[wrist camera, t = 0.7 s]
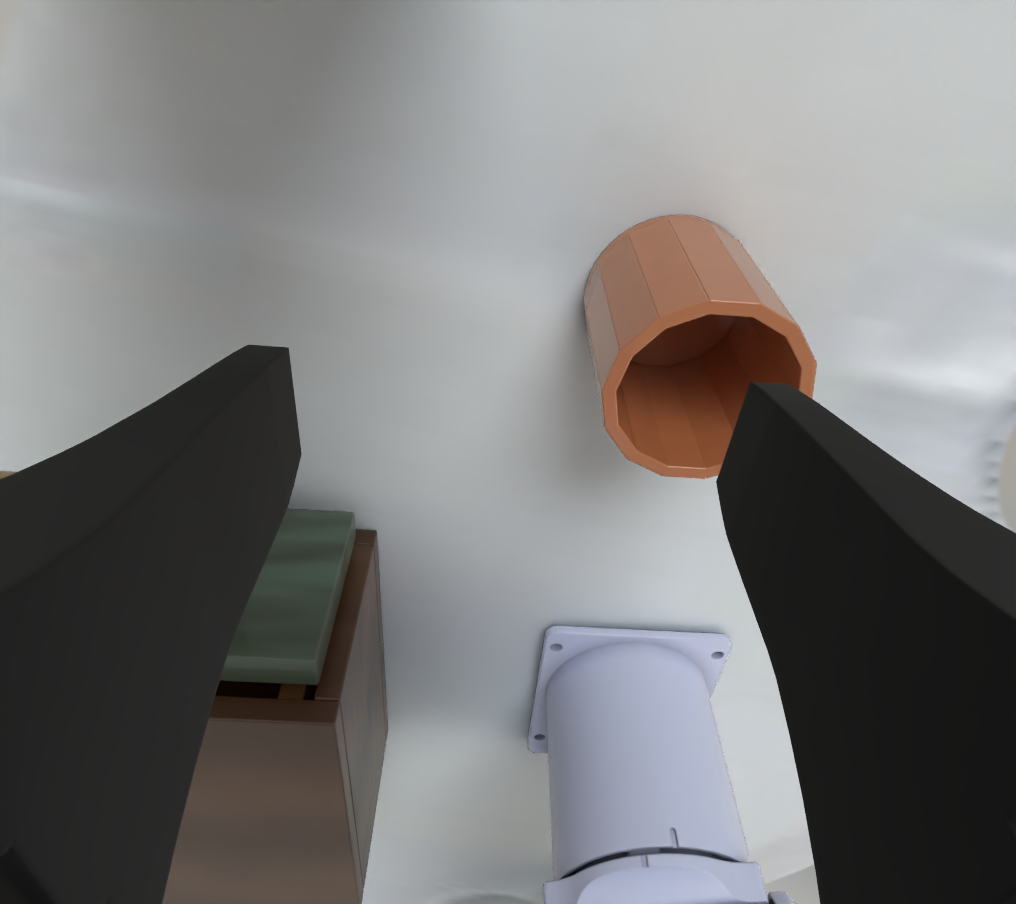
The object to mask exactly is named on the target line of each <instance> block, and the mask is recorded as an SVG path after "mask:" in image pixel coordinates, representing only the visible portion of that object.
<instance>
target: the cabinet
mask: <svg viewBox="0 0 1016 904" xmlns="http://www.w3.org/2000/svg"><path fill="white" fill-rule="evenodd" d="M355 530H356V538H355V542H354V546H353V550H352V554H351V558H350V562H349V566H348V570H347V574H346V578H345V582H344V586H343V590H342V594H341V598H340V602H339V606H338V610H337V614H336V618H335V622H334V626H333V630H332V634H331V638H330V642H329V646H328V650H327V654H326V658H325V662H324V666H323V670H322V674H321V678H320V682H319V684H318V685H317V688H316V692H315V696H314V700H298V699H276V698H253V697H231V696H215V698H214V701H213V705H212V708H211V712H210V715H209V719H208V723H207V726H206V730H205V733H204V737H203V741H202V744H201V748H200V752H199V755H198V759H197V762H196V766H195V770H194V774H193V778H192V781H191V785H190V789H189V793H188V797H187V801H186V805H185V809H184V813H183V817H182V821H181V825H180V829H179V833H178V837H177V841H176V845H175V849H174V854H173V858H172V863H171V867H170V871H169V876H168V880H167V885H166V889H165V893H164V898H163V902H162V904H362V898H363V888H364V885H365V878H366V871H367V865H368V858H369V852H370V845H371V838H372V832H373V825H374V819H375V812H376V805H377V799H378V792H379V786H380V779H381V772H382V766H383V759H384V752H385V746H386V739H387V733H388V720H387V702H386V684H385V666H384V648H383V630H382V613H381V595H380V577H379V559H378V541H377V532H376V531H375V530H357V529H355Z"/></svg>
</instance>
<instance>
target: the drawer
mask: <svg viewBox="0 0 1016 904" xmlns="http://www.w3.org/2000/svg"><path fill="white" fill-rule="evenodd" d="M14 473H17V472H11V471H0V479H2V478H4V477H7V476H9V475H12V474H14ZM355 538H356V530H355V518H354V513H353V512H339V511H321V510H303V509H287V510H286V512H285V515H284V517H283V520H282V522H281V525H280V527H279V530H278V532H277V534H276V537H275V539H274V541H273V544H272V546H271V549H270V551H269V553H268V556H267V558H266V560H265V563H264V565H263V567H262V570H261V572H260V574H259V577H258V579H257V581H256V584H255V586H254V588H253V591H252V593H251V595H250V598H249V600H248V603H247V605H246V607H245V610H244V612H243V614H242V617H241V619H240V621H239V624H238V627H237V629H236V632H235V635H234V637H233V640H232V643H231V645H230V648H229V651H228V654H227V658H226V661H225V665H224V668H223V671H222V675H221V678H220V681H219V685H218V688H217V691H216V695H215V696H231V697H253V698H276V699H298V700H314V696H315V692H316V688H317V685H318V684H319V682H320V678H321V674H322V670H323V666H324V662H325V658H326V654H327V650H328V646H329V642H330V638H331V634H332V630H333V626H334V622H335V618H336V614H337V610H338V606H339V602H340V598H341V594H342V590H343V586H344V582H345V578H346V574H347V570H348V566H349V562H350V558H351V554H352V550H353V546H354V542H355Z"/></svg>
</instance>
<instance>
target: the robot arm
mask: <svg viewBox="0 0 1016 904" xmlns="http://www.w3.org/2000/svg"><path fill="white" fill-rule="evenodd" d="M300 458H301V447H300V438H299V430H298V422H297V413H296V405H295V397H294V389H293V380H292V372H291V364H290V356H289V348H286V347H272V346H259V345H247V346H245V347H243V348H241V349H239V350H237V351H236V352H234V353H232V354H231V355H229V356H227V357H226V358H224V359H222V360H221V361H219V362H218V363H216V364H214V365H213V366H211V367H210V368H208V369H207V370H205V371H203V372H202V373H200V374H199V375H197V376H196V377H194V378H192V379H191V380H189V381H188V382H186V383H184V384H183V385H181V386H180V387H178V388H176V389H175V390H173V391H172V392H170V393H168V394H167V395H165V396H164V397H162V398H160V399H159V400H157V401H156V402H154V403H152V404H151V405H149V406H147V407H145V408H143V409H142V410H140V411H138V412H136V413H135V414H133V415H131V416H129V417H127V418H126V419H124V420H122V421H120V422H119V423H117V424H115V425H113V426H111V427H110V428H108V429H106V430H104V431H103V432H101V433H99V434H97V435H95V436H93V437H92V438H90V439H88V440H86V441H84V442H82V443H80V444H78V445H76V446H74V447H72V448H70V449H67V450H65V451H63V452H61V453H59V454H57V455H55V456H53V457H50V458H48V459H46V460H44V461H41V462H39V463H37V464H35V465H33V466H30V467H28V468H26V469H24V470H21V471H19V472H17V473H14V474H12V475H9V476H7V477H4V478H2V479H0V904H162V902H163V898H164V893H165V889H166V885H167V880H168V876H169V871H170V867H171V863H172V858H173V854H174V849H175V845H176V841H177V837H178V833H179V829H180V825H181V821H182V817H183V813H184V809H185V805H186V801H187V797H188V793H189V789H190V785H191V781H192V778H193V774H194V770H195V766H196V762H197V759H198V755H199V752H200V748H201V744H202V741H203V737H204V733H205V730H206V726H207V723H208V719H209V715H210V712H211V708H212V705H213V701H214V698H215V695H216V691H217V688H218V685H219V681H220V678H221V675H222V671H223V668H224V665H225V661H226V658H227V654H228V651H229V648H230V645H231V643H232V640H233V637H234V635H235V632H236V629H237V627H238V624H239V621H240V619H241V617H242V614H243V612H244V610H245V607H246V605H247V603H248V600H249V598H250V595H251V593H252V591H253V588H254V586H255V584H256V581H257V579H258V577H259V574H260V572H261V570H262V567H263V565H264V563H265V560H266V558H267V556H268V553H269V551H270V549H271V546H272V544H273V541H274V539H275V537H276V534H277V532H278V530H279V527H280V525H281V522H282V520H283V517H284V515H285V512H286V510H287V508H288V504H289V501H290V497H291V493H292V490H293V486H294V482H295V478H296V474H297V470H298V466H299V462H300ZM716 483H717V489H718V494H719V500H720V506H721V511H722V516H723V521H724V526H725V530H726V535H727V538H728V541H729V544H730V547H731V550H732V553H733V555H734V558H735V561H736V564H737V567H738V570H739V573H740V575H741V578H742V581H743V584H744V587H745V589H746V592H747V595H748V598H749V600H750V603H751V606H752V609H753V611H754V614H755V617H756V620H757V623H758V625H759V628H760V631H761V634H762V636H763V639H764V642H765V645H766V647H767V650H768V653H769V656H770V660H771V663H772V666H773V669H774V673H775V676H776V679H777V684H778V688H779V692H780V696H781V700H782V705H783V709H784V713H785V717H786V722H787V726H788V730H789V734H790V739H791V744H792V748H793V753H794V758H795V763H796V768H797V773H798V777H799V782H800V787H801V792H802V797H803V802H804V808H805V813H806V819H807V825H808V830H809V836H810V842H811V848H812V853H813V859H814V865H815V870H816V876H817V884H818V890H819V897H820V904H1016V533H1014V532H1012V531H1011V530H1009V529H1007V528H1005V527H1003V526H1002V525H1000V524H998V523H996V522H994V521H993V520H991V519H989V518H987V517H985V516H984V515H982V514H980V513H978V512H977V511H975V510H973V509H972V508H970V507H968V506H967V505H965V504H963V503H962V502H960V501H958V500H957V499H955V498H953V497H952V496H950V495H949V494H947V493H946V492H944V491H943V490H941V489H940V488H938V487H936V486H935V485H933V484H932V483H930V482H929V481H927V480H926V479H924V478H923V477H921V476H920V475H918V474H916V473H915V472H914V471H912V470H911V469H909V468H908V467H906V466H905V465H903V464H902V463H900V462H899V461H898V460H896V459H895V458H893V457H892V456H890V455H889V454H888V453H886V452H885V451H883V450H882V449H881V448H879V447H878V446H876V445H875V444H874V443H872V442H871V441H869V440H868V439H867V438H865V437H864V436H863V435H861V434H860V433H859V432H857V431H856V430H854V429H853V428H852V427H850V426H849V425H848V424H846V423H845V422H843V421H842V420H841V419H839V418H838V417H837V416H835V415H834V414H833V413H831V412H830V411H828V410H827V409H826V408H824V407H823V406H821V405H820V404H819V403H817V402H816V401H814V400H813V399H811V398H810V397H808V396H807V395H805V394H804V393H802V392H801V391H799V390H797V389H796V388H794V387H792V386H790V385H789V384H778V383H764V382H750V384H749V387H748V389H747V392H746V395H745V398H744V401H743V404H742V407H741V410H740V413H739V416H738V419H737V422H736V425H735V428H734V431H733V434H732V437H731V440H730V443H729V446H728V449H727V452H726V455H725V458H724V460H723V463H722V466H721V469H720V472H719V475H718V478H717V481H716ZM731 648H732V643H731V640H730V638H729V636H727V635H725V634H715V633H695V632H675V631H655V630H635V629H615V628H595V627H574V626H553V627H550V628H549V629H547V630H546V632H545V638H544V644H543V650H542V656H541V662H540V668H539V674H538V680H537V686H536V693H535V699H534V705H533V711H532V717H531V723H530V729H529V735H528V749H529V750H530V751H531V752H533V753H547V754H548V764H549V787H550V811H551V834H552V858H553V870H554V881H548V882H545V883H544V884H543V886H544V904H797V903H795V902H794V901H792V899H791V897H790V896H789V895H788V894H787V893H786V892H784V891H777V892H769V894H768V897H767V894H766V890H765V886H764V882H763V878H762V874H761V871H760V867H759V864H758V863H757V862H751V860H750V856H749V852H748V848H747V844H746V840H745V836H744V832H743V828H742V824H741V820H740V816H739V812H738V808H737V804H736V800H735V796H734V792H733V788H732V785H731V781H730V777H729V773H728V769H727V765H726V761H725V757H724V753H723V749H722V745H721V741H720V737H719V733H718V729H717V725H716V721H715V717H714V713H713V709H712V706H711V702H710V698H711V695H712V693H713V691H714V688H715V686H716V684H717V681H718V679H719V677H720V674H721V672H722V669H723V667H724V665H725V662H726V660H727V658H728V655H729V653H730V651H731Z"/></svg>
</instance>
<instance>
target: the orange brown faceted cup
mask: <svg viewBox="0 0 1016 904" xmlns="http://www.w3.org/2000/svg"><path fill="white" fill-rule="evenodd" d="M584 312H585V318H586V328H587V335H588V340H589V346H590V351H591V357H592V362H593V368H594V373H595V379H596V384H597V390H598V395H599V401H600V406H601V412H602V417H603V423H604V428H605V430H606V431H607V433H608V434H609V436H610V437H611V438H612V440H613V441H614V442H615V444H616V445H617V446H618V448H619V449H620V450H621V452H622V453H623V454H624V456H625V457H626V458H627V459H628V460H630V461H632V462H634V463H636V464H638V465H640V466H642V467H645V468H647V469H649V470H651V471H653V472H655V473H657V474H659V475H661V476H667V477H684V478H701V479H705V478H710V477H713V476H717V475H719V472H720V469H721V466H722V463H723V460H724V458H725V455H726V452H727V449H728V446H729V443H730V440H731V437H732V434H733V431H734V428H735V425H736V422H737V419H738V416H739V413H740V410H741V407H742V404H743V401H744V398H745V395H746V392H747V389H748V387H749V384H750V382H764V383H778V384H789V385H790V386H792V387H794V388H796V389H797V390H799V391H801V392H802V393H804V394H805V395H807V396H808V397H810V398H811V399H812V397H813V389H814V382H815V374H816V366H817V364H816V360H815V358H814V356H813V354H812V351H811V349H810V347H809V345H808V343H807V341H806V339H805V337H804V335H803V333H802V331H801V329H800V327H799V325H798V324H797V323H796V321H795V320H794V318H793V317H792V315H791V314H790V313H789V311H788V310H787V308H786V307H785V305H784V304H783V303H782V301H781V300H780V298H779V297H778V295H777V294H776V293H775V291H774V290H773V288H772V287H771V285H770V284H769V283H768V281H767V280H766V278H765V277H764V275H763V274H762V273H761V271H760V270H759V268H758V267H757V265H756V264H755V263H754V261H753V260H752V258H751V257H750V255H749V254H748V253H747V251H746V250H745V248H744V247H743V245H742V244H741V243H740V242H739V241H738V240H737V239H735V238H734V237H733V236H732V235H731V234H730V233H729V232H728V231H726V230H725V229H724V228H722V227H720V226H719V225H717V224H715V223H713V222H711V221H709V220H706V219H703V218H699V217H695V216H688V215H670V216H662V217H658V218H654V219H650V220H647V221H645V222H642V223H639V224H637V225H636V226H634V227H632V228H630V229H628V230H627V231H625V232H624V233H622V234H621V235H619V236H618V237H617V238H616V239H615V240H614V241H612V242H611V243H610V244H609V245H608V246H607V247H606V249H605V250H604V251H603V252H602V253H601V255H600V256H599V258H598V259H597V260H596V262H595V264H594V266H593V268H592V270H591V272H590V274H589V277H588V280H587V283H586V288H585V293H584Z"/></svg>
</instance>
